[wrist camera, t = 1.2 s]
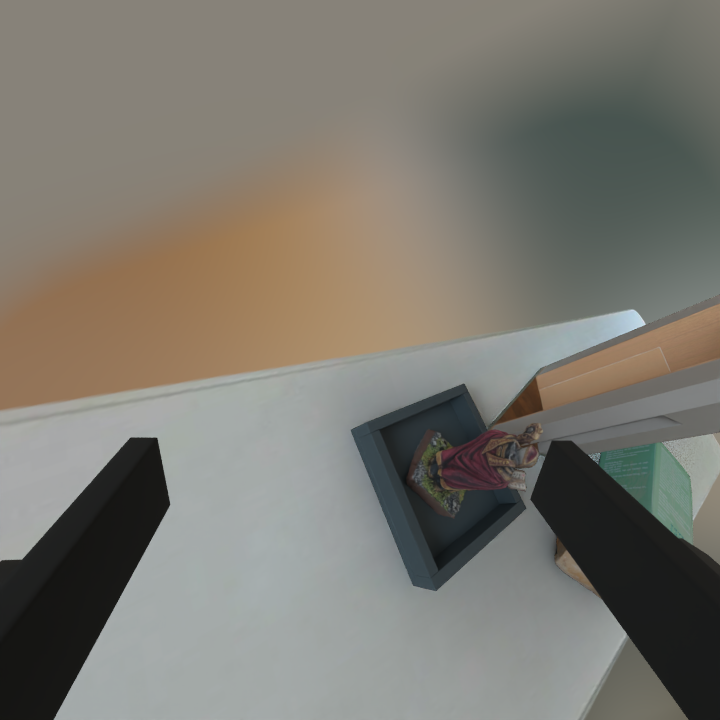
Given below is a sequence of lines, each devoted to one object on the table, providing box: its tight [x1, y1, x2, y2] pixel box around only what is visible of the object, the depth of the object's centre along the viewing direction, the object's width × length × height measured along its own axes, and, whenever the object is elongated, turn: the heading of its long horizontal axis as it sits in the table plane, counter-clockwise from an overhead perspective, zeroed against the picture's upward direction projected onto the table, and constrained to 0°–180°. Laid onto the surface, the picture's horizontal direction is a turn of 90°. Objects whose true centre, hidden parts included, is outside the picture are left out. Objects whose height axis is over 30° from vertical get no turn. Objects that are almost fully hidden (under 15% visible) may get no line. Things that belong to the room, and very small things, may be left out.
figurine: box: [406, 423, 543, 519], centre depth 28 cm, size 6×6×12 cm
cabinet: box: [487, 295, 720, 456], centre depth 33 cm, size 21×10×28 cm, turn 129°
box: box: [599, 442, 693, 545], centre depth 44 cm, size 7×14×8 cm, turn 137°
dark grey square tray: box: [351, 384, 526, 591], centre depth 33 cm, size 14×14×3 cm
